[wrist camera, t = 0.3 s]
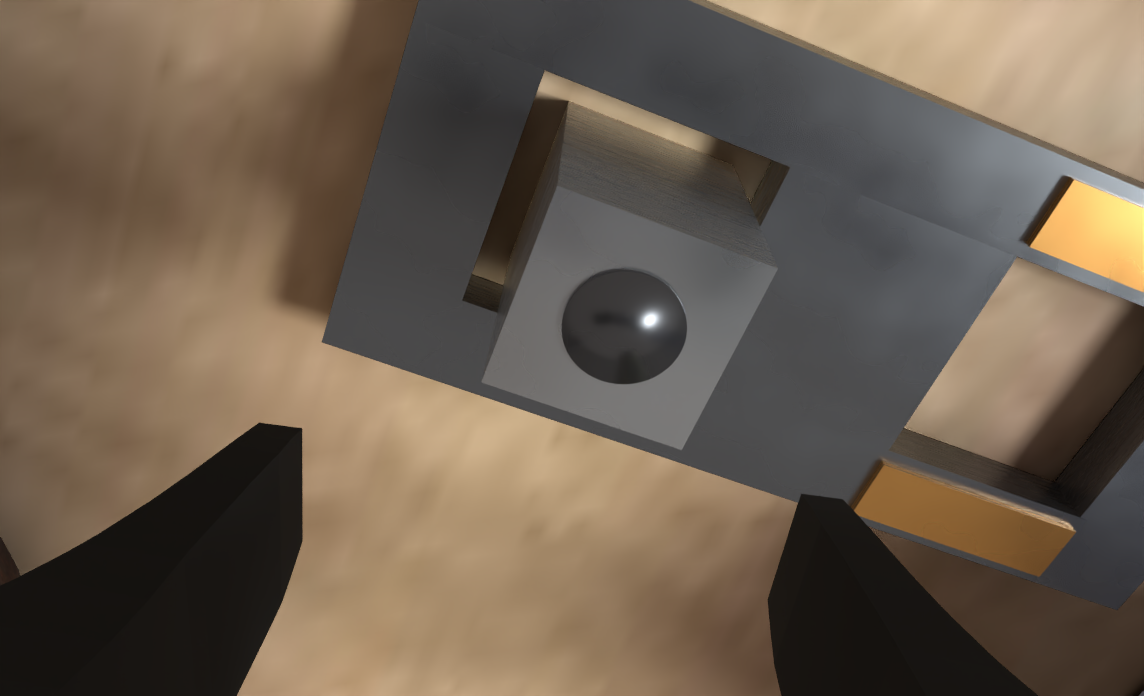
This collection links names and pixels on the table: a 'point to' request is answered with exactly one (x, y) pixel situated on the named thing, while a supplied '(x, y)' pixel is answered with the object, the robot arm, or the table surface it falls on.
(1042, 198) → the rail
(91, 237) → the table surface
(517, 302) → the nut block
